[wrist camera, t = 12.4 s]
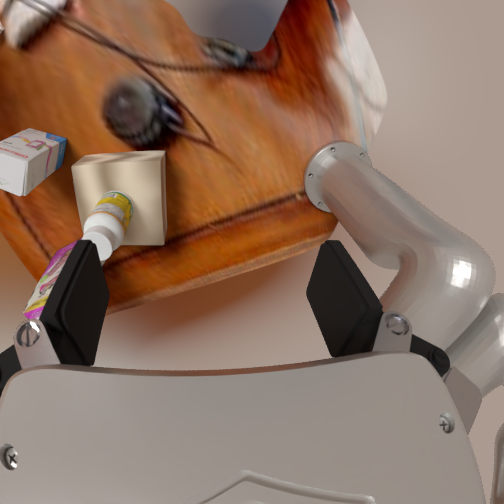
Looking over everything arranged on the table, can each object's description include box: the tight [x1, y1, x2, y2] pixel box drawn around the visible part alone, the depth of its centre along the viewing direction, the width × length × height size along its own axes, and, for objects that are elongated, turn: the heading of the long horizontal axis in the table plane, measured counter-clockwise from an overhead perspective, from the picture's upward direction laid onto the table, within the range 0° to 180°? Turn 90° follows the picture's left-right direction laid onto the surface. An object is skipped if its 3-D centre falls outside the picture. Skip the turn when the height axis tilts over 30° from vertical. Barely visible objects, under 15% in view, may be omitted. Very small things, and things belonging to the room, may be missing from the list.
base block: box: [71, 151, 167, 245], centre depth 36 cm, size 13×13×5 cm
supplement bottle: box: [82, 191, 134, 261], centre depth 30 cm, size 5×5×10 cm
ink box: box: [0, 128, 67, 196], centre depth 26 cm, size 9×5×12 cm, turn 62°
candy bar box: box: [23, 238, 105, 320], centre depth 36 cm, size 11×5×16 cm, turn 106°
